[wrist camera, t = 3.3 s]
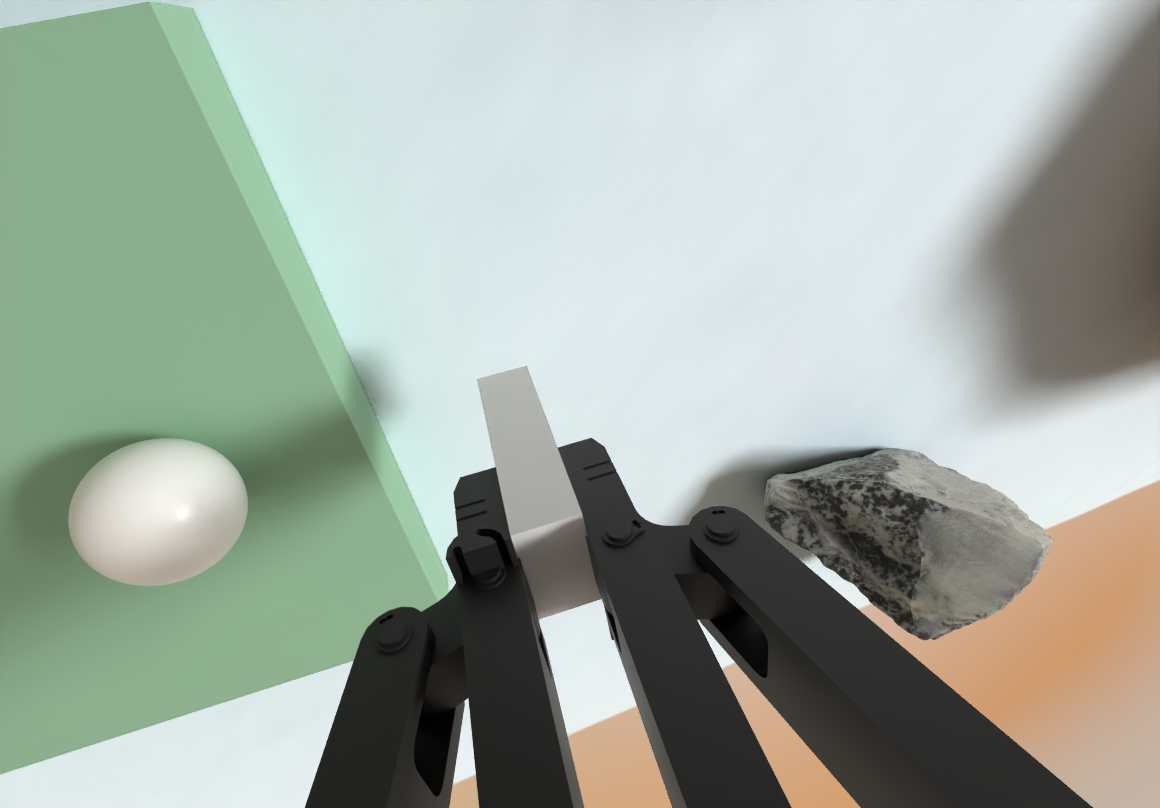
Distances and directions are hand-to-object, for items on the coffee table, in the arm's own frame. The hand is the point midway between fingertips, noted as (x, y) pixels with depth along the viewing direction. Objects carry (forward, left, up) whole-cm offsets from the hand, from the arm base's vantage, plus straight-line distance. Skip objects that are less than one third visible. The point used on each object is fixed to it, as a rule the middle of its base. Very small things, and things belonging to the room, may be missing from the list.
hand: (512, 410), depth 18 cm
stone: (+13, +16, -5) cm, 21 cm away
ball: (0, -10, 0) cm, 10 cm away
